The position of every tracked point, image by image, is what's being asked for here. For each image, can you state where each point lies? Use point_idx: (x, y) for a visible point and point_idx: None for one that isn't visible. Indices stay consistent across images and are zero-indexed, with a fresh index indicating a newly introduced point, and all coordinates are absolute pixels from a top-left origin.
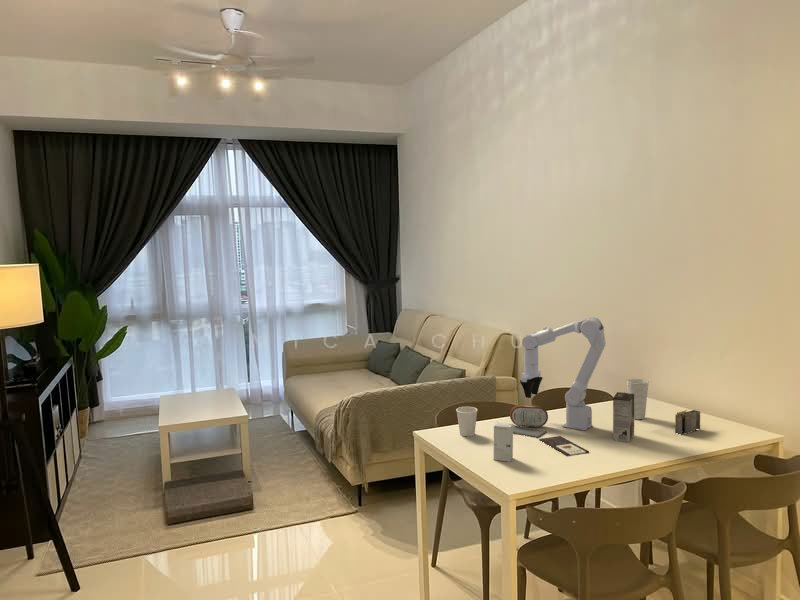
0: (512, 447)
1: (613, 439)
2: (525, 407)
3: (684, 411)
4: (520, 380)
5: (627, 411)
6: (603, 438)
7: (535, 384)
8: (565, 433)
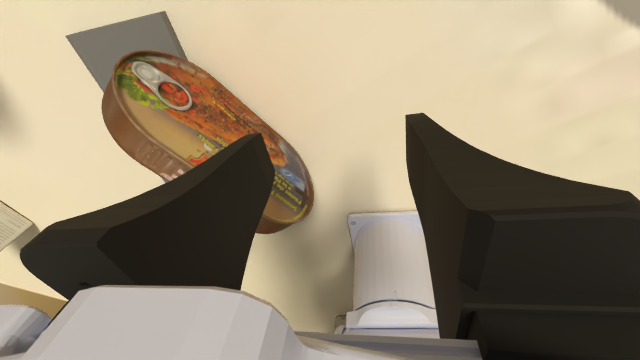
0: (3, 247)
1: (336, 317)
2: (168, 179)
3: None
4: (29, 254)
5: None
6: (331, 303)
7: (430, 230)
8: (293, 240)
